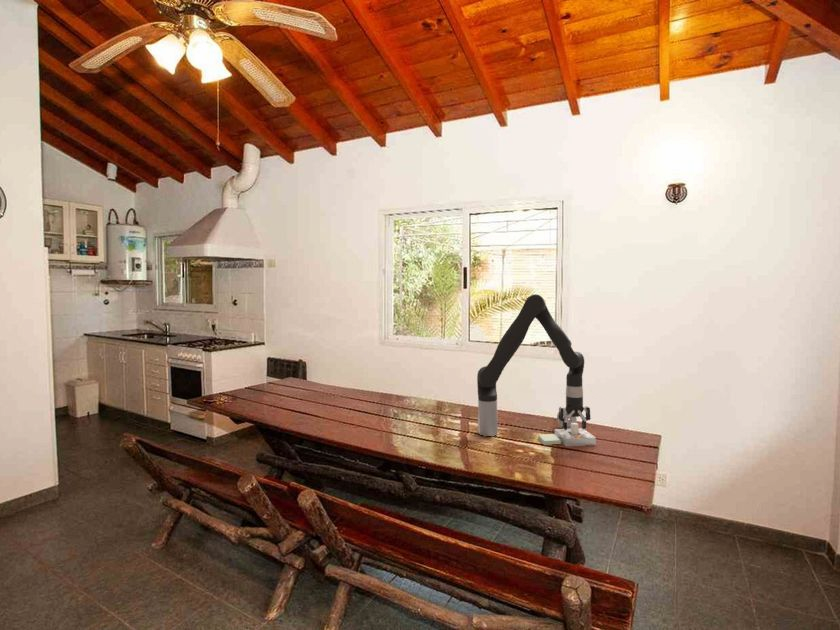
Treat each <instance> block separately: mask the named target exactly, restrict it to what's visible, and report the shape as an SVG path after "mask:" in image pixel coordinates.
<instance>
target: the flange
mask: <svg viewBox="0 0 840 630" xmlns="http://www.w3.org/2000/svg"><path fill="white" fill-rule="evenodd" d="M554 434H555V435H556V436H557V437H558V438H559V439H560V440H561V442H562V443H563V444H564V445H565V446H564V445H563V444H562V443H561V444H562V445H563V446H564V447H585V446H586V445H589V446H596V445H597V444H596V443H597V442H596V441H597V438H596V436H594V435H593V434H592V433H590V432H589V431H587V430H586V428H585V429H582V427H578V435H571V428H570V429H567V430H565V429H564V428H555V429H554ZM586 447H587V446H586Z"/></svg>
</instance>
